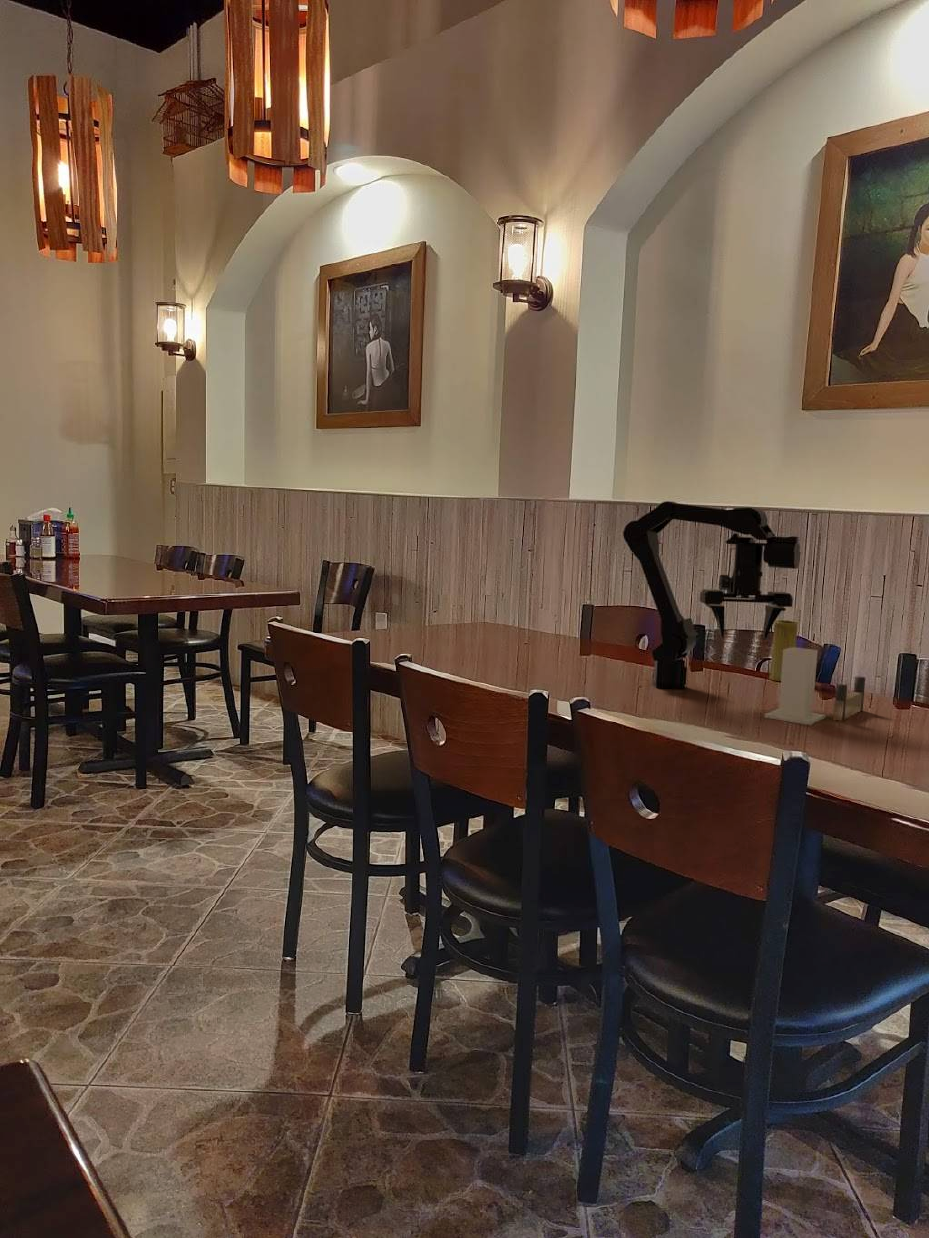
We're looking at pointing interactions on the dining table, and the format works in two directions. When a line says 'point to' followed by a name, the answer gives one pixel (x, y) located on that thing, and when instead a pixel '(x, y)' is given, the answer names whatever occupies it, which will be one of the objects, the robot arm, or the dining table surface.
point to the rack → (849, 699)
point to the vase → (781, 645)
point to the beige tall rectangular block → (797, 682)
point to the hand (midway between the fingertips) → (743, 637)
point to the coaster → (808, 720)
